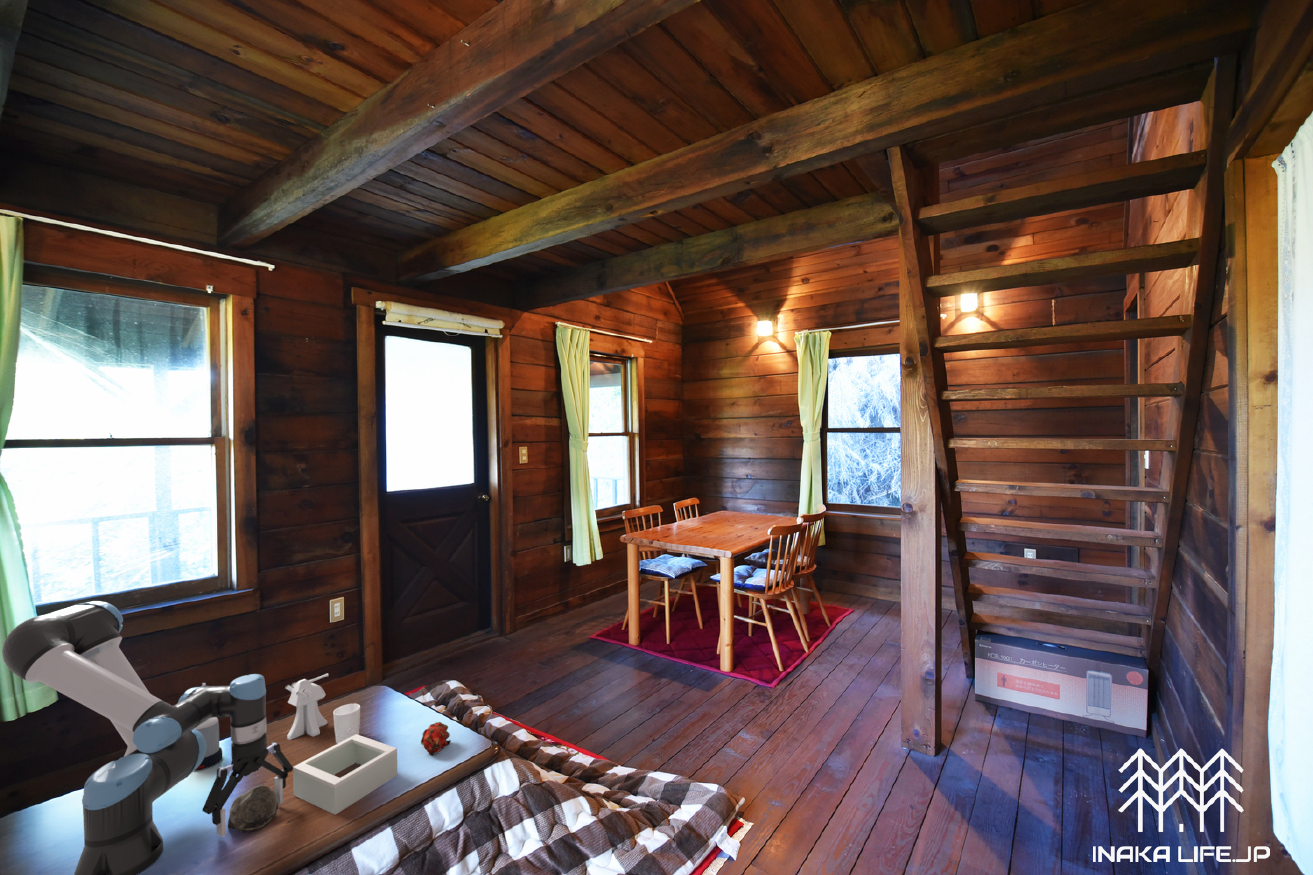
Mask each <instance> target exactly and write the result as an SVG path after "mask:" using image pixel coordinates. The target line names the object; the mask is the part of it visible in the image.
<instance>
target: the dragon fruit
mask: <svg viewBox="0 0 1313 875" xmlns="http://www.w3.org/2000/svg"><path fill="white" fill-rule="evenodd" d="M448 729H449V726H448V725H447V724H445V723H443V722H441V721H437V722H435V723H432V724H430V725H429V726H428V727H427V728H426V729H425V730H424V731H423V732H422V734H421V735H422V736H421V740H420V745H422V746H423V748H424V749H425V750H426V752H428V754H429V755H430V756H434V754H438V753H440V752H441V751H442V750H443V749H444V748H445V747H447V746H450V744H451V741H452V740H451V739H449V738H450V736H451V734H450V732H449V731H448ZM448 739H449V740H448Z"/></svg>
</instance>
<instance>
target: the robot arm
mask: <svg viewBox="0 0 1313 875" xmlns="http://www.w3.org/2000/svg"><path fill="white" fill-rule="evenodd" d="M123 622H124V618H123V615H122V613H121V612H120V610H119V609H118V608H117V607H116V606H114V605H113V604H111V603H109V602H106V601H101V600H92V601H87V602H82V603H76V604H73V605H71V606H68V607H66V608H61V609H59V610H55V611H51V612H49V613H46V614H42V615H41V614H40V615H37V616H33V617H31V618H29V619H26V620H25V621H23V622H22V623H20V624H18V625H17V626H16V627H14V628H13V629H12V630H11V631H10V633H9V634H8V635H7V636H6V638H5V640H4V642H3V645H2V651H1V652H2V659H3V662H4V663H5V665H6V666H7V668H8V669H9V670H10V671H11V672H12V673H13V674H14V675H16V676H17V677H19V678H20V679H22V680H25V681H26V682H27V683H32V684H33V683H38V682H39V683H40V682H41V683H42V684H43V685H46V686H47V687H50V688H51V689H54V690H55V691H57V692H59V693H61V694H63V695H64V696H66V697H68V698H69V699H71V700H74V702H77V703H79V704H81V705H83V706H84V707H86V708H89V709H90V710H92V711H94V712H96V713H97V714H99V715H101V716H103V717H105V718H107V719H108V720H110V722H111V723H112V725H113V726H114V727H115V730H116V731H117V732H118V734H119V735H120V737H121V738H122V740H123V741H124V743H125V744H126V745H127V748H126V751H125V754H124V755H123V756H121V757H119V759H118V760H112V761H110V762H108V763H106V764H104V765H102V766H101V767H100V768H98V769H97V770H96V771H94V772H93V773H92V774H90V776H89V777H88V778H87V780H86V781H85V783H84V787H83V795H82V799H81V800H82V801H81V802H82V803H81V804H82V811H83V812H82V813H83V816H82V817H83V837H84V844H83V845H84V846H83V850H82V852H81V853H80V857H79V860H78V862H77V865H76V867H75V871H74V874H73V875H137V874H138V873H139V874H141V873H142V872H144V871H146V870H147V869H148V868H149V866H150V867H151V866H152V865H153V864H154V863H156V861H158V859H159V858H160V857H161V855H162V854H163V851H164V840H163V837H162V835H161V833H160V831H159V830H158V828H157V826H156V824H155V821H154V818H153V816H154V815H153V803H154V802H155V801H156V800H158V799H159V798H160V797H161V796H162V795H164V794H165V793H167V792H168V791H170V790H171V789H173V787H175V786H176V785H177V784H179V783H181V782H182V781H184V780H185V779H187V778H189V776H190V775H192V773H193V772H195V771H194V770H195V769H196V768H197V767H198V766H199V765H200V764H201V763H202V761H203V759H204V755H205V753H206V742H205V739H204V737H203V735H202V734H201V733H200V732H199V731H198V730H196V729H194V728H196V727H197V726H199V725H200V724H202V723H204V722H205V721H207V720H208V719H210V718H213V717H217V718H226V717H227V718H228V717H230V741H231V744H230V746H231V748H230V749H231V750H230V751H231V763H230V764H228V765H227V766H226V765H225V766H219V767H218V768H217V770H216V778H215V779H214V782H213V784H212V786H211V789H210V791H209V793H208V796H207V798H206V801H205V803H204V805H203V807H202V810H201V811H202V812H203V813H205V814H207V815H211V822H212V825H215V826H216V834H217V835H218V836H219V837H222V838H224V837H225V836H226V835H227V834H226V830H227V828H226V826H227V825H226V808H223V807H224V806H225V804H226V803H227V801H228V799H229V798H230V796H231V795H232V793H233V791H234V790H235V788H236V787H237V785H238V784H239V783H240V782H241V781H242V779H243V778H244V777H247V776H250V774H252V773H255V772H257V771H259V769H260V768H261V767H262V768H264V769H266V770H268V771H269V772H271V773H273V774H274V775H276V776H275V777H273V786H274V787H273V789H274V790H273V791H274V792H275V795H276V800H277V802H278V803H279V805H281V804H284V789H285V788H286V786H287V784H286V782H287V778H288V777H289V772H293V767H294V766H293V765H292V764H291V763H290V761H289V760H288V759H287V757H286V755H284V753H283V752H282V750H281V749H282V748H281V744H279V743H277V742H275V741H273V742H271V743H269V744H270V745H269V746H268V738H267V736H268V735H267V734H268V733H267V712H266V706H267V705H266V702H267V701H266V699H267V698H266V697H267V689H266V681H265V677H264V675H262V674H259V673H253V674H252V673H251V674H247V675H246V674H245V675H242V676H239V677H237V678H235V679H233V680H232V681H231V682H230V684H229V685H211V686H210V685H206V686H203V685H201V686H195V687H191V688H188V689H187V690H185V692H184V693H183V694H182V695H181V696H180V697H179V699H178V702H177V703H176V704H174V705H171V704H170V703H168V702H166V701H164V700H162V699H160V698H159V697H157V696H155V695H153V694H151V692H150V691H149V690H148V689H147V687H146V686H145V684H144V682H143V681H142V680H141V678H140V677H139V675H138V673H137V672H136V671H135V669H134V668H133V667H132V664H131V663H130V662H129V661H128V659H127V657H126V656H125V654H124V653H123V651H122V650H121V648H120V644H121V641H122V640H123V637H122V636H121V634H120V633H121V631H122V629H123ZM193 729H194V730H193ZM267 746H268V747H267ZM269 753H270V754H272V756H273V757H274V758H275V760H276V761H277V762H278V763H279V764H280V766H281V767H282V769H280V768H279V767H277V766H276V765H273V764H272V763H270V762H268V761H266V758H267V756H268V754H269ZM231 771H232V772H231ZM230 772H231V773H230ZM228 776H229V777H228ZM227 779H228V780H227ZM226 781H227V782H226ZM146 868H147V869H146ZM140 872H141V873H140ZM139 874H138V875H139Z"/></svg>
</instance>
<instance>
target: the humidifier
mask: <svg viewBox="0 0 1313 875" xmlns="http://www.w3.org/2000/svg"><path fill="white" fill-rule="evenodd" d="M201 684H202V685H201V686H207V684H206V682H202V683H201ZM194 729H196V730H198V731H199V732H200V733H201V734H202V735H203V737H204V739H205V742H206V753H205V755H204V759H203V761H202V763H201V764H200V765H199V766H198V767H197V768H196V769H195V770H194V771H193V772H195V771H202V770H206V769H209V768H212V767H214V766H216V765H217V764H219V763H220V762H221V761H222V760H223V749H222V747H220V722H219V719H218V717H213V718H210V719H208V720H207V721H205V722H204V723H202V724H200V725H199V726H197V727H196V728H194ZM194 729H193V730H194Z"/></svg>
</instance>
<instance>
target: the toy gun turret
mask: <svg viewBox="0 0 1313 875" xmlns="http://www.w3.org/2000/svg"><path fill="white" fill-rule="evenodd" d="M325 677H329V673H325V674H323V675H321V676H317V677H316V678H315V677H314V678H312V679H306V678H303V679H300V680H298V681H297V682H292V684H291V685H290V684H287V685H286V686H285V688H284V689H286V690H288V691H289V692H290V693H291V694H290V697H289V699H288V701H287V703H288V704H290V705H292V706H295V707H296V713H295V718H294V721H293V723H292V725H291V728H290V730H289V731H288V734H287V735H286V739H287V740H290V741H291V740H293V739H296V738H298V737H301V736H303V735H305V734H307V735H308V736H310V737H316V736H319V735H320V733H321V731H320V728H321V727H324V726H326V725H327V724H328V720H327V719H325V718H324V717H323V715H322V714H321V711H320V710H319V706H318V701H319V700H322V699H324V698H325V696H326V693H325V690H324V688H323V687H322V686H321V685H318V684H316V683H314V682H315V681H318V680H320V679H324V678H325Z"/></svg>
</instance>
